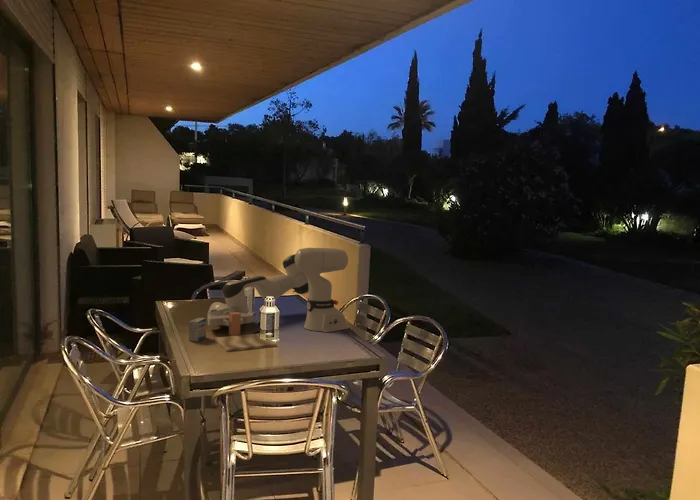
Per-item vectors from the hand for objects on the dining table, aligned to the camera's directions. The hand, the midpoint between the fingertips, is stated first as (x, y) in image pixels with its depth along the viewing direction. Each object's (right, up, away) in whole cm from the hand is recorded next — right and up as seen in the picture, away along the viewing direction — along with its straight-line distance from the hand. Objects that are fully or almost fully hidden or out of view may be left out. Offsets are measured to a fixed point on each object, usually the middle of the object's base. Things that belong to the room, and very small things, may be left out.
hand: (235, 323), depth 254 cm
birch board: (+6, -7, -11) cm, 14 cm away
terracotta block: (-1, -5, +1) cm, 6 cm away
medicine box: (-15, -6, -8) cm, 18 cm away
